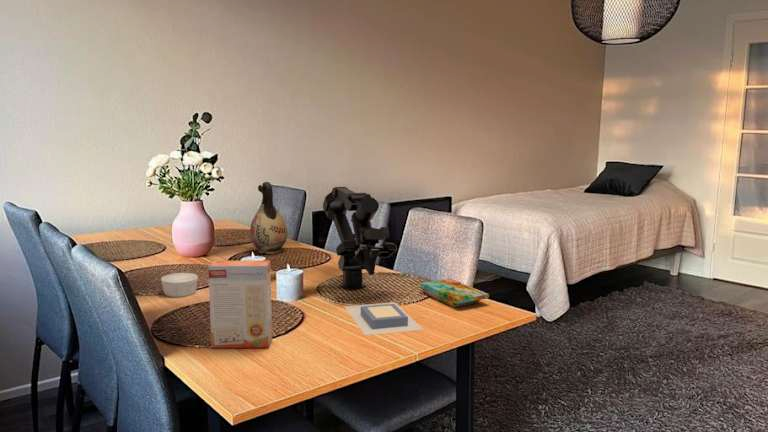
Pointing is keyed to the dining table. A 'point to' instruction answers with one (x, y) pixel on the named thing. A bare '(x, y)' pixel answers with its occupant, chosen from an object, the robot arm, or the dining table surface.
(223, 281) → the cracker box
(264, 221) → the ceramic jug
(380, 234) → the robot arm
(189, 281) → the ramekin
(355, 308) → the mat
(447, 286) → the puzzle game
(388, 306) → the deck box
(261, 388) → the dining table surface
